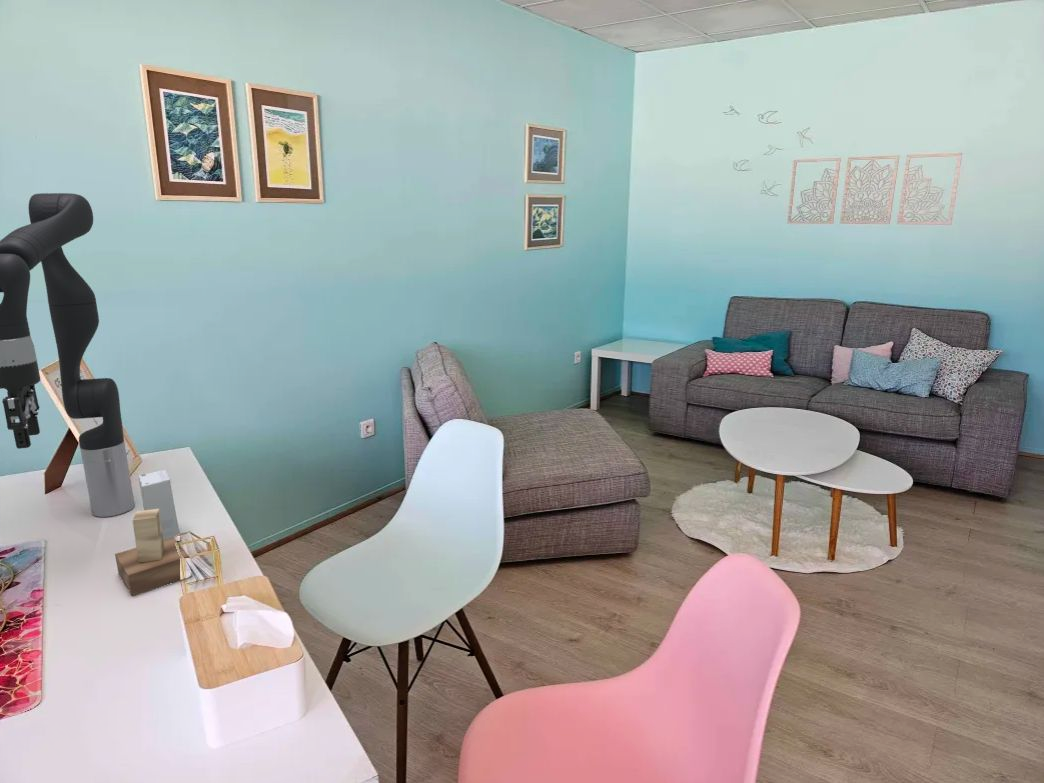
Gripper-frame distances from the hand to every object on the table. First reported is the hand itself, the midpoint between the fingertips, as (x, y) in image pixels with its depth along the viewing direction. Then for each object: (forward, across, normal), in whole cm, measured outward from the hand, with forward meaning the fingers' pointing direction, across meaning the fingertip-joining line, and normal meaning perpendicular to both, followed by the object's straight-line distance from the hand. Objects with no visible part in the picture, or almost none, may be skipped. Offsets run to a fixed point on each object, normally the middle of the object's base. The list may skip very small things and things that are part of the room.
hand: (29, 440), depth 135 cm
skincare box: (+28, +6, -20) cm, 35 cm away
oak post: (+23, -12, -19) cm, 33 cm away
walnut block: (+28, -12, -19) cm, 36 cm away
